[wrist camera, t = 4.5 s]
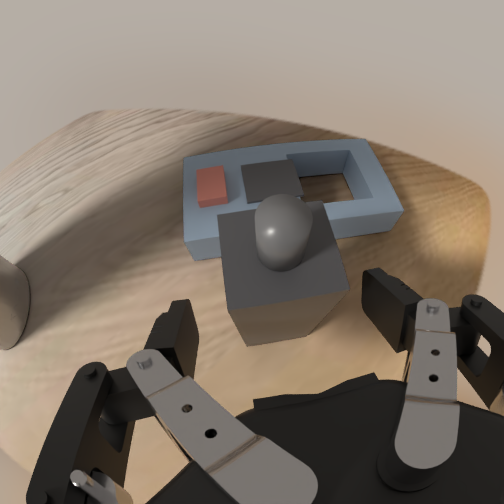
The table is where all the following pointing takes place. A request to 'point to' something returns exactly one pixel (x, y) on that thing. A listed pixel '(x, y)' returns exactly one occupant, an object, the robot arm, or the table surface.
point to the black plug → (280, 268)
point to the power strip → (284, 187)
